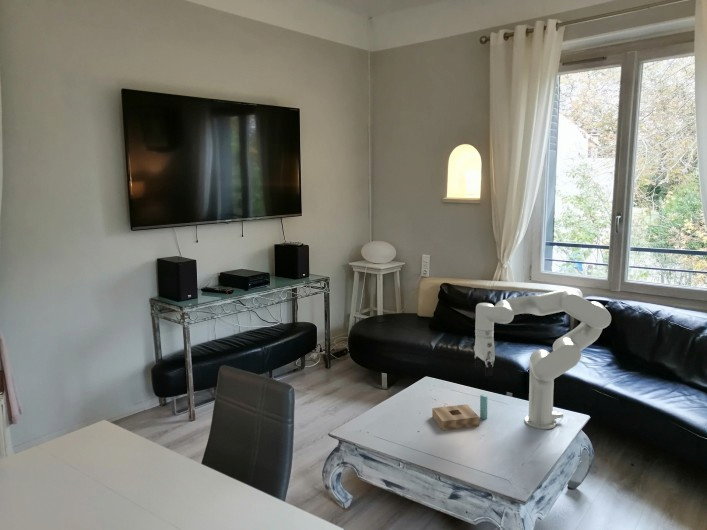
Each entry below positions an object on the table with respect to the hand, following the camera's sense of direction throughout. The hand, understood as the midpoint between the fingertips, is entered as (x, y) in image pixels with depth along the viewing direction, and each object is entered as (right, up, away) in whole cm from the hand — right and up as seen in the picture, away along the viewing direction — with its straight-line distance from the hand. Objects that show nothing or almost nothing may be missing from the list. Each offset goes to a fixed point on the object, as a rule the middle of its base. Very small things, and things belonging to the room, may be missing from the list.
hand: (483, 371), depth 229 cm
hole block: (-12, -22, +2) cm, 25 cm away
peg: (+1, -21, +4) cm, 21 cm away
